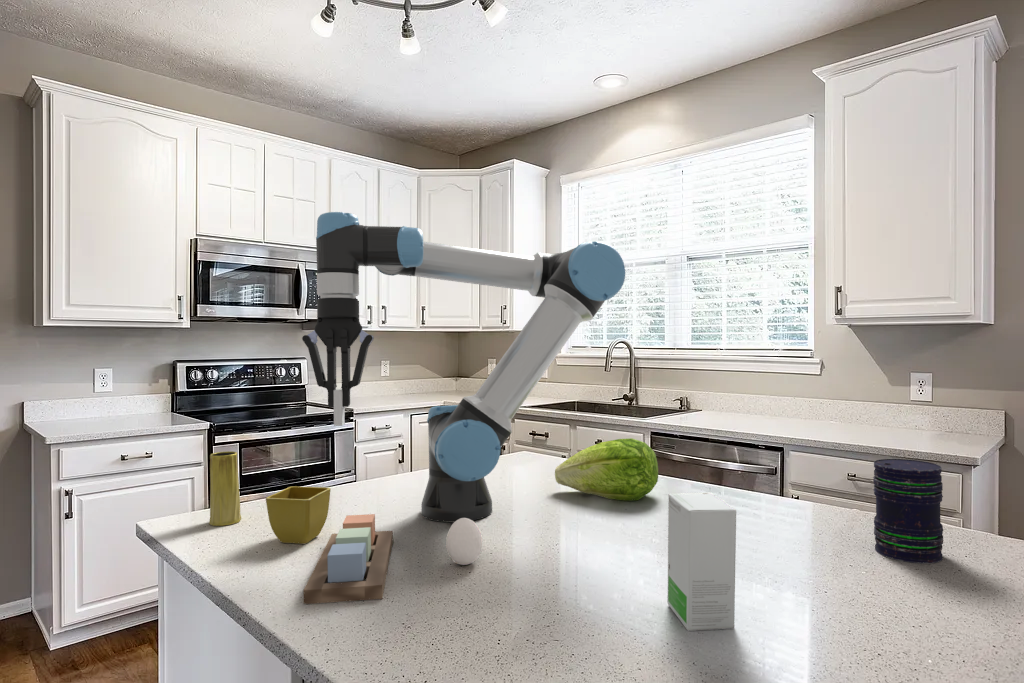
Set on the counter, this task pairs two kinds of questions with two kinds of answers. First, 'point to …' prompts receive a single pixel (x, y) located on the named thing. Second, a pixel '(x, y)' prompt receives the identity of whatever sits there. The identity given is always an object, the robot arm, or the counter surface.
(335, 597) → the board
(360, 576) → the key slate
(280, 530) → the flower pot
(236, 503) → the vase
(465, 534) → the egg
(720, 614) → the skincare box
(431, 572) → the counter surface
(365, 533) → the key sage
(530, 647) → the counter surface
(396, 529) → the counter surface
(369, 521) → the key rust
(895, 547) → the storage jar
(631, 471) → the lettuce
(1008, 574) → the counter surface
